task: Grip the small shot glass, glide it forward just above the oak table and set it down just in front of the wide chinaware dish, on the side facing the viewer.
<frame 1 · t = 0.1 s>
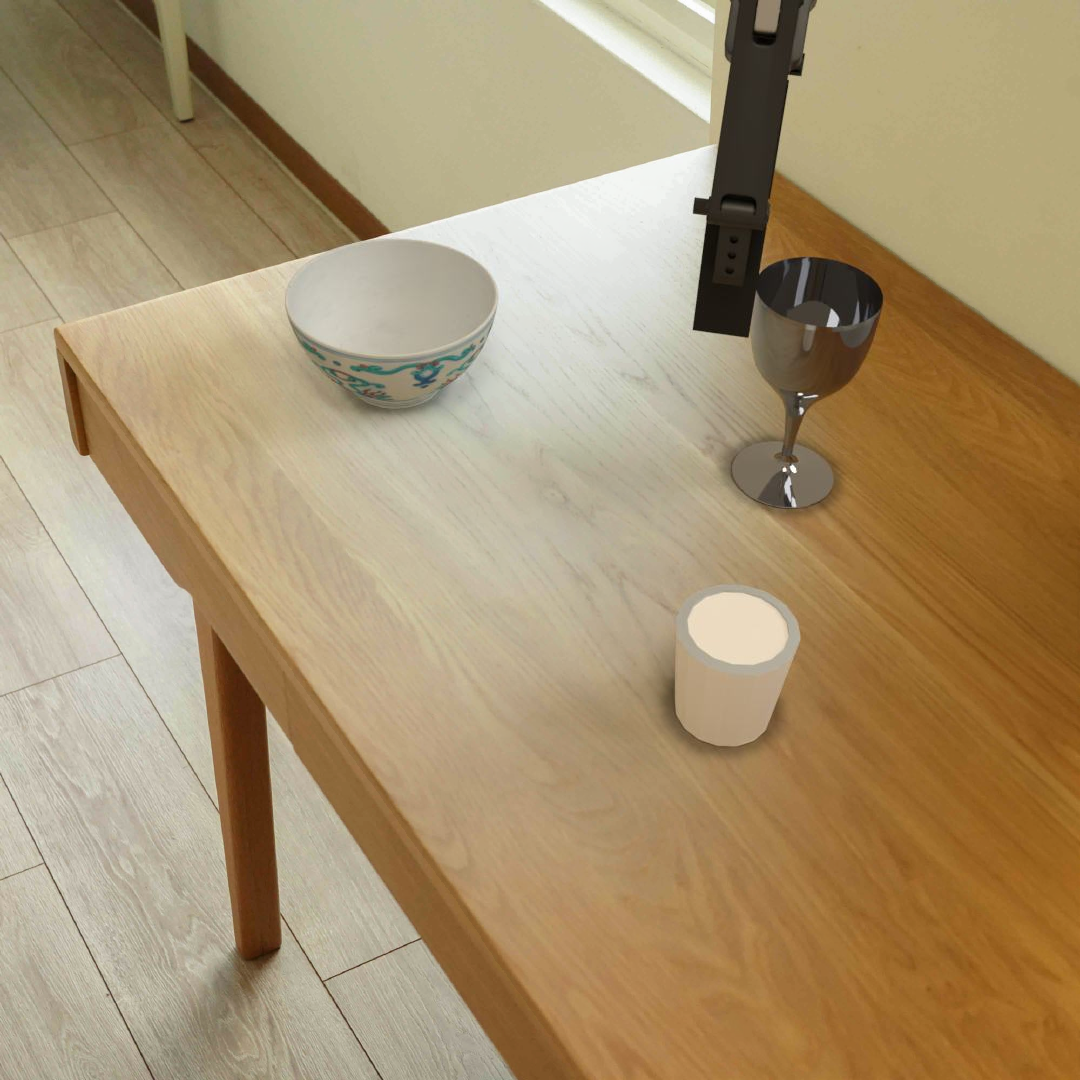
hand: (734, 257, 70), 24 cm above the table, tool pointing down, fingers open, 13 cm apart
chinaware: (396, 384, 101), on the table
shot glass: (722, 710, 79), on the table
wine glass: (782, 476, 94), on the table
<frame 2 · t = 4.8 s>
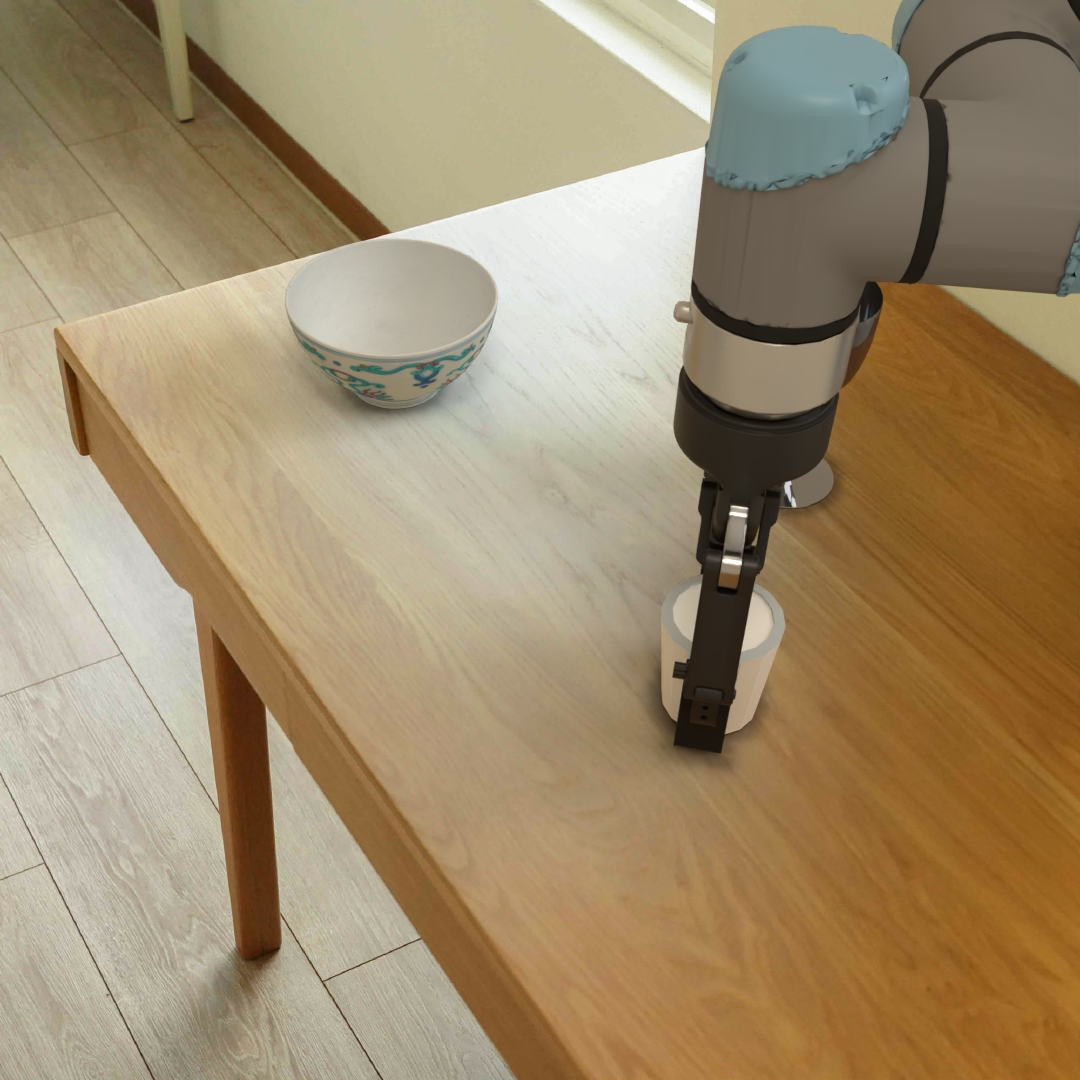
hand: (705, 693, 79), 1 cm above the table, tool pointing down, fingers closed on shot glass, 7 cm apart
shot glass: (708, 699, 79), on the table, touching gripper
everything else where it was.
when the fingers open (0 cm above the table, at t = 11.1 s): shot glass stays where it is, on the table.
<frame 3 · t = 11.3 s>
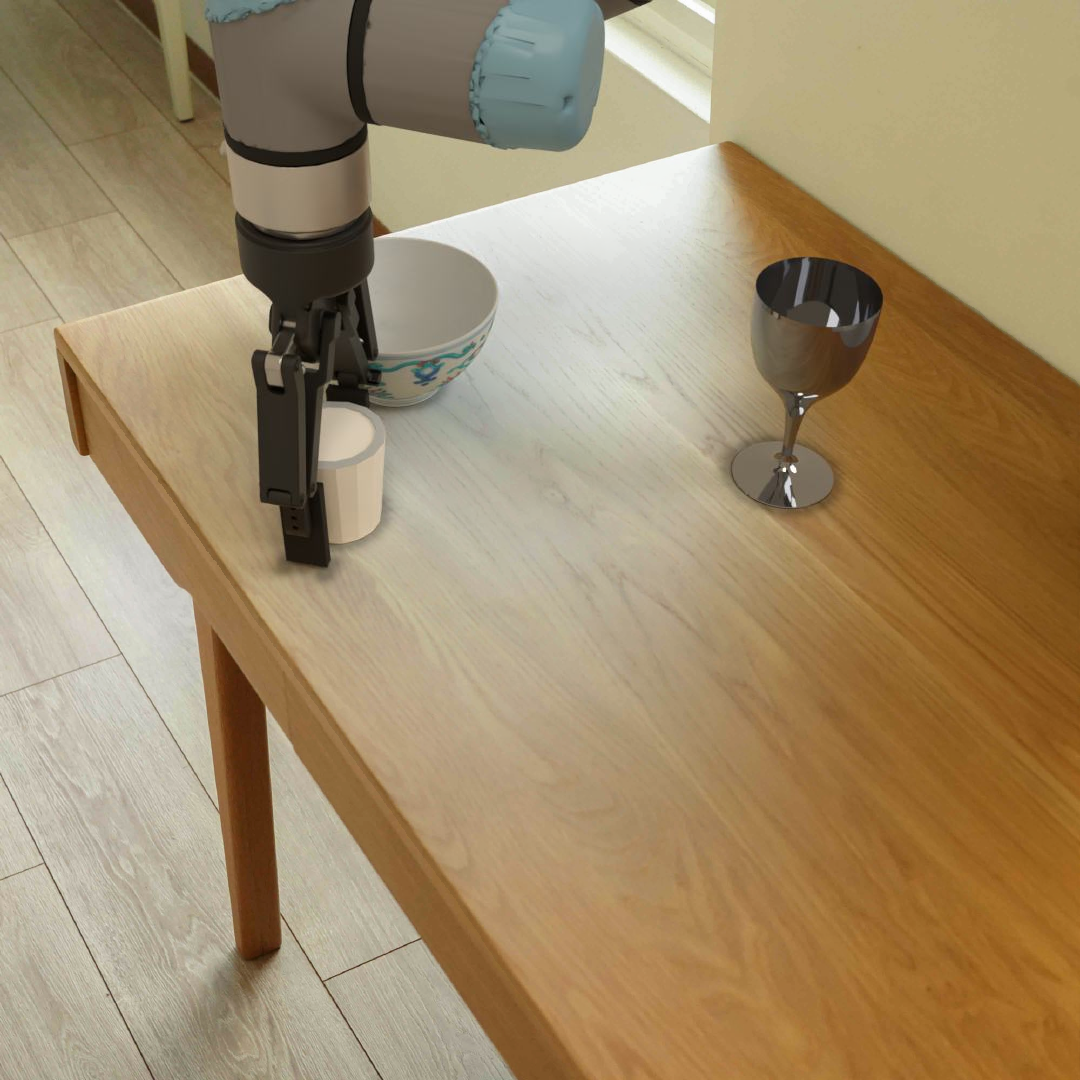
hand: (331, 511, 89), 0 cm above the table, tool pointing down, fingers open, 9 cm apart
chinaware: (397, 382, 101), on the table, touching gripper
shot glass: (339, 517, 90), on the table
everything else where it was.
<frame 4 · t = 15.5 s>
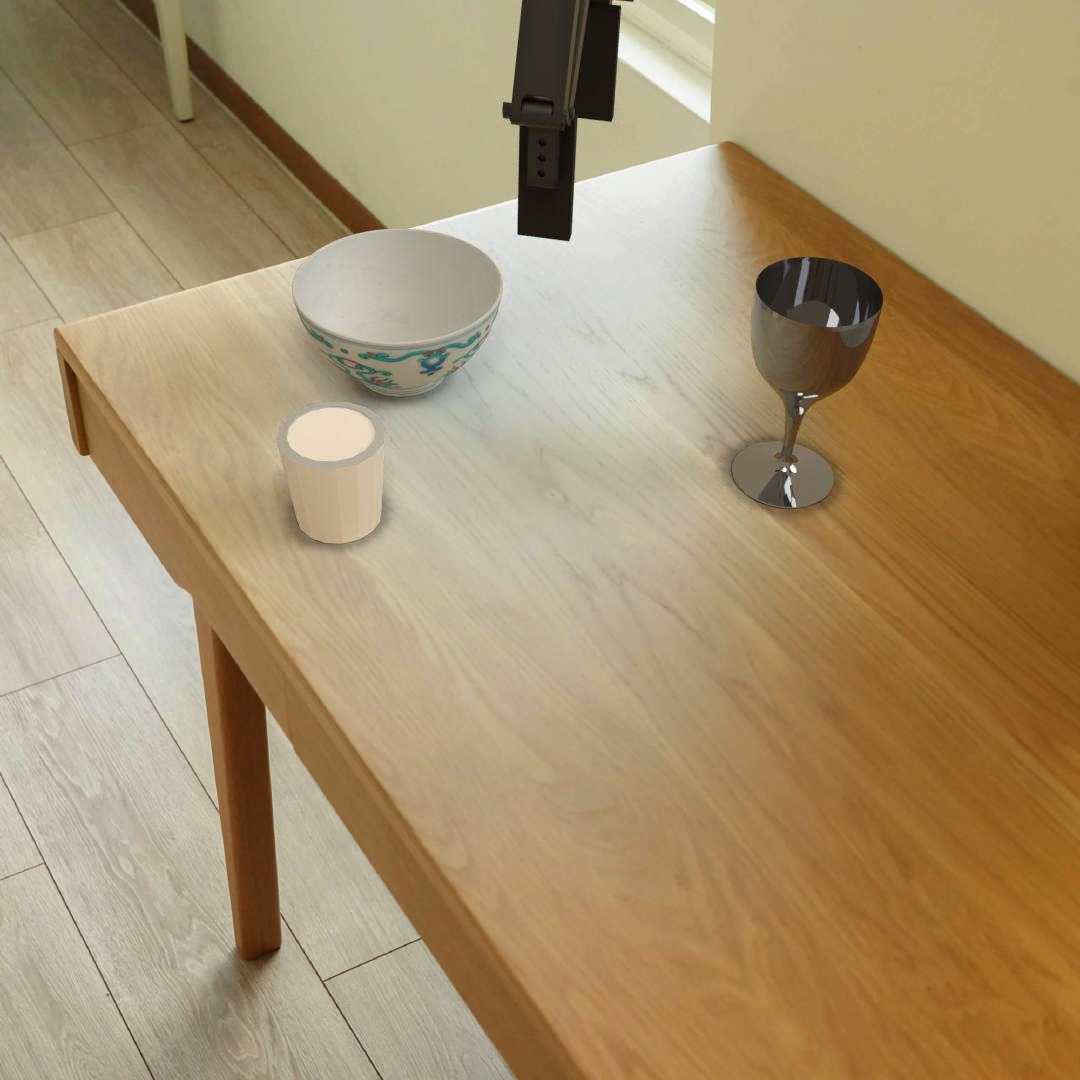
hand: (568, 172, 74), 25 cm above the table, tool pointing down, fingers open, 13 cm apart
chinaware: (402, 372, 102), on the table
everything else where it was.
at the end: shot glass inside the target area on the table beside the chinaware (1.5 cm from its centre), on the table; shot glass tilted 0°; chinaware moved 1.5 cm from its start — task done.
